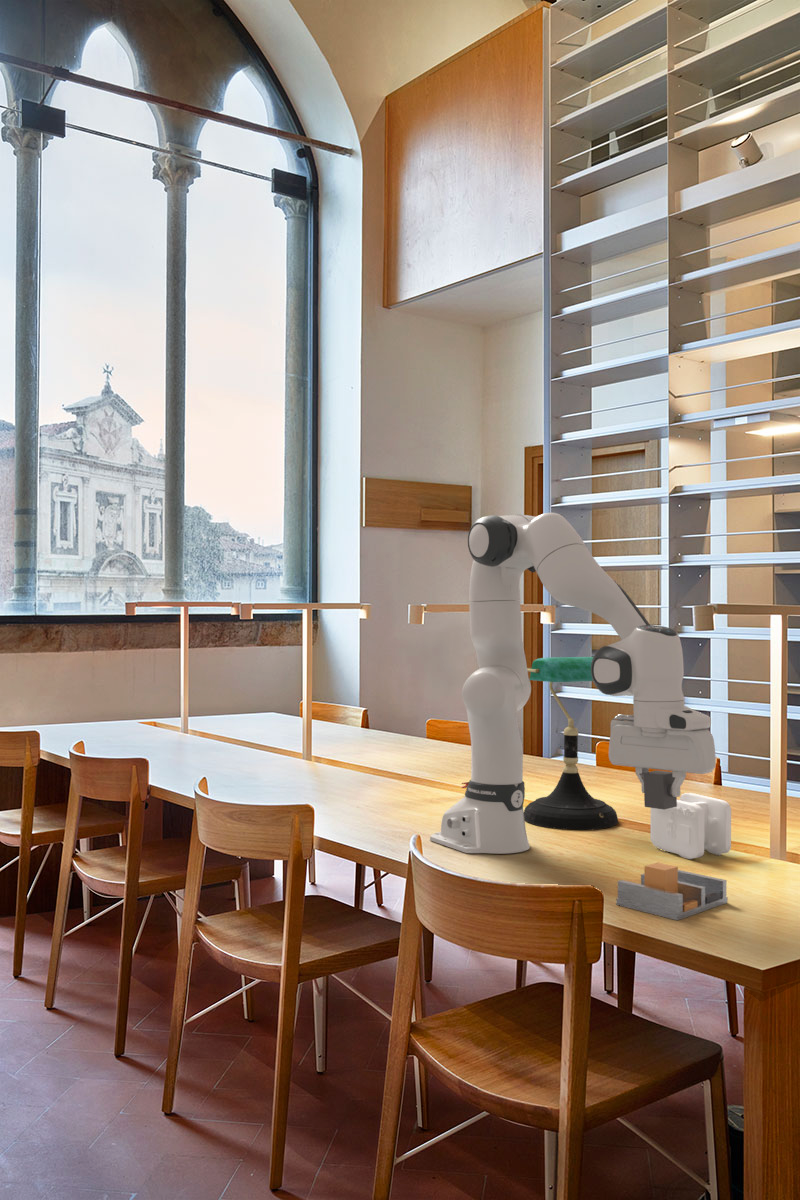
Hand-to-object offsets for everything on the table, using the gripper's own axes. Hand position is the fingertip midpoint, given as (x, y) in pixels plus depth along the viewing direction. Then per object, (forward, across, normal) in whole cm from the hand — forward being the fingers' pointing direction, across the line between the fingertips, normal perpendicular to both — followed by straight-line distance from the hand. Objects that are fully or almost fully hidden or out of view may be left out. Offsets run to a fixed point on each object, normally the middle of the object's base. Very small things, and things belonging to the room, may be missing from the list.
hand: (660, 794), depth 181 cm
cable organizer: (+19, -17, +35) cm, 43 cm away
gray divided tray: (+18, +3, -1) cm, 19 cm away
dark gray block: (+2, 0, 0) cm, 2 cm away
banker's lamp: (+18, -55, +43) cm, 72 cm away
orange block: (+17, +3, -5) cm, 18 cm away
